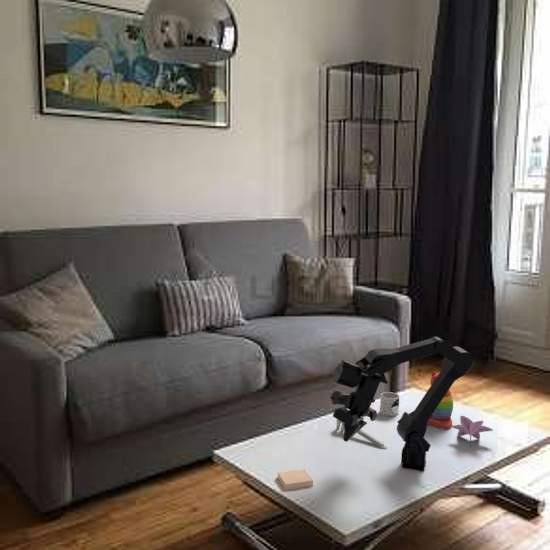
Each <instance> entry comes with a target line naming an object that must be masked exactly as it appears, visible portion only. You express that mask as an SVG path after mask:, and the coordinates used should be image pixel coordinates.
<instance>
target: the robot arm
mask: <svg viewBox="0 0 550 550" xmlns="http://www.w3.org/2000/svg"><path fill="white" fill-rule="evenodd" d="M436 354H440V356H443V359H442V362H441V369H440V372H438V373H439V375H438V376H437V378H436V379H435V381H434V382H433V384H432V385H431V384H430V387H429V388H428V389H427V391H426V392H425V394H424V396H422V399H421V400H420V401H419V403H418V405H417V406H416V408H414V410H413V411H411V412H409V413H408V412H407V411H404V412H403V413H402V415H401V417H400V418H399V420H397V421H396V422H397V426H396V432H397V434H398V436H399V437H400V438H401V439H402V441H403V442H404V446H403V447H402V449H401V462H400V463H401V464H402V465H401V468H403V469H408V470H413V471H419V472H425V469H426V465H427V460H426V459H427V456H426V455H427V452H429V450H430V448H431V444H430V443H429V442H428V440H427V439H425V436H426V433H427V429H428V426H429V425H428V420H429V419H430V417H431V416H432V414H433V413H434V411H435V410H436V408H437V407H438V405H439V404H440V402H441V401H442V399H443V398H444V396H445V395H446V393H447V392H448V390H450V389H451V387H452V386H453V384H454V383H455V382H456V381H457V380H459V379H460V378H462V377H464V376H465V375H466V374H467V373H468V372H469V370H471V369H472V367H473V366H474V363H475V361H474V357H473V355H472V354H471V353H470V352H469V351H466V350H465V349H463V348H461V347H460V346H451V345H450V344H448V343H447V342H446V341H445V340H443V339H442V338H440V337H438V336H432V337H430V338H428V339H424V340H421V341H420V340H419V341H417V342H414V343H410V344H406V345H402V346H399V347H396V348H385V347H383V348H374V349H371V350H368V351H367V354H366V355H365V356H364V357H362V358H360V359H359V360H358V361H356V362H355V363H351V362H350V361H347V360H345V359H342V360H341V362H340V363H338V364H337V366H336V367H335V368H334V370H333V374H332V380H333V383H335V384H339V385H341V386H344V387H347V388H350V389H354V388H355V390H352V391H350V393H347V392H342V391H341V390H334V391H333V393H331V395H330V397H329V399H330V400H331V404H332V405H342V406H344V407H338V408H336V409H334V412H333V414H332V417H333V418H335V419H336V420H337V419H338V420H340V421H342V422H343V423H345V426H344V430H343V439H342V440H343V441H344V442H346V443H347V442H348V441H350V440H351V439H352V438H353V437H354V436H355V435H356V434H358V433H357V432H358V431H359V430H360V429H361V430H362V429H363V428H364V427H365V426H366V425H367V424H368V422H367V421H364V420H365V418H364V417H368V418H369V419H370V422H374V421H376V419H377V417H378V412H377V410H375V409H374V408H372V407H371V405H372V404H373V403H375V402H376V398H375V396H376V393H377V390H378V389H379V386H380V384H381V383H382V384H385V385H387V384H388V383H389V381H388V380H387V378H386V374H385V373H388V372H391V371H392V370H395V368H397V367H398V366H399V365H401V364H404V363H407V362H411V361H414V360H418V359H422V358H425V357H429V356H433V355H436Z"/></svg>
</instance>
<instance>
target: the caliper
mask: <svg viewBox="0 0 550 550" xmlns="http://www.w3.org/2000/svg"><path fill="white" fill-rule="evenodd" d="M344 426H345V423H343V422H342V421H340V420H338V419H336V430H341V431H340V432H342V431H343V432H344ZM356 434H358V435H359V436H361V437H362V438H364V439H365V440H367V441H369V442H370V443H372V444H373V445H375V446H377V447H378V446H379V447H378V448H382V449H384V450H386V449H387V446H385V444H384V442H381V441H380V440H379V439H377V438H375V437H374V436H372V435H371V434H369V433H368V432H366V431H364V430H363V429H362V428H361V429H360V430H359V431H358V432H357V433H356Z"/></svg>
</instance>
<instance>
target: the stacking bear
mask: <svg viewBox="0 0 550 550" xmlns="http://www.w3.org/2000/svg"><path fill="white" fill-rule="evenodd" d="M439 373H440V372H435V371H434V372H432V373H431V378H430V386H431V385H432V384H433V382H434V381H435V379H436V378H437V376H438V375H439ZM453 409H454V399H453V394H452V391H451V390H450V389H449V390H448V392H447V393H446V395H445V396H444V398H443V399H442V401H441V402H440V404H439V405H438V407H437V408H436V410H435V411H434V413H433V414H432V416H431V417H430V419H429V420H428V425H427V426H433V427H436V428H439V429H441V430H450V429H451V428H452V427H451V426H453V420H452V415H453V414H452V413H453Z"/></svg>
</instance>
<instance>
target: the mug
mask: <svg viewBox="0 0 550 550" xmlns="http://www.w3.org/2000/svg"><path fill="white" fill-rule="evenodd" d="M379 404H380V405H379V406H380V407H379V413H380V414H381V415H383V416H385V417H396V415H397V416H398V415H399V412H400V410H399V409H400V394H398V393H395V392H391V391H385V392H382V393H381V394H380V403H379Z"/></svg>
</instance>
